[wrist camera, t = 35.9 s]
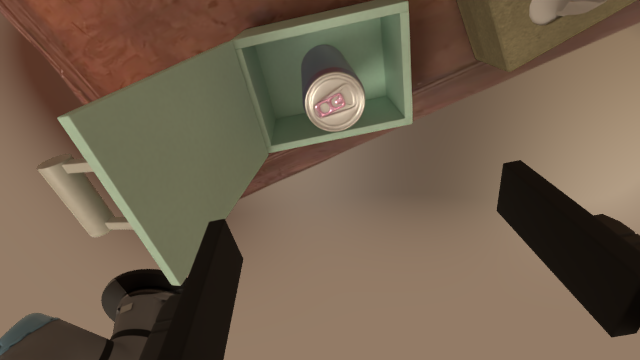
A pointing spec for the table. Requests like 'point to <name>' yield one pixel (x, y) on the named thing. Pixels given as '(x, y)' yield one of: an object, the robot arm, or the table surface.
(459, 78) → the table surface
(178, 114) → the cooler lid
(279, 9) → the table surface
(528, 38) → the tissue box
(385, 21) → the box
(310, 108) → the beverage can
